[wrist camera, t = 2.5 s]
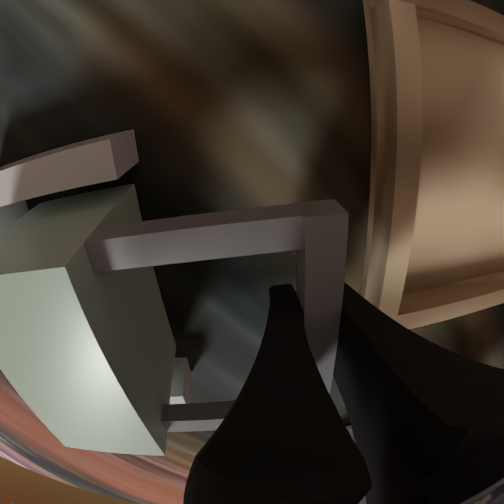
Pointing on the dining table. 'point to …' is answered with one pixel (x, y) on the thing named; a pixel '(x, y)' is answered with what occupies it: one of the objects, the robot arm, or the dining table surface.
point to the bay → (73, 176)
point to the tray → (435, 159)
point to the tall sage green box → (139, 308)
